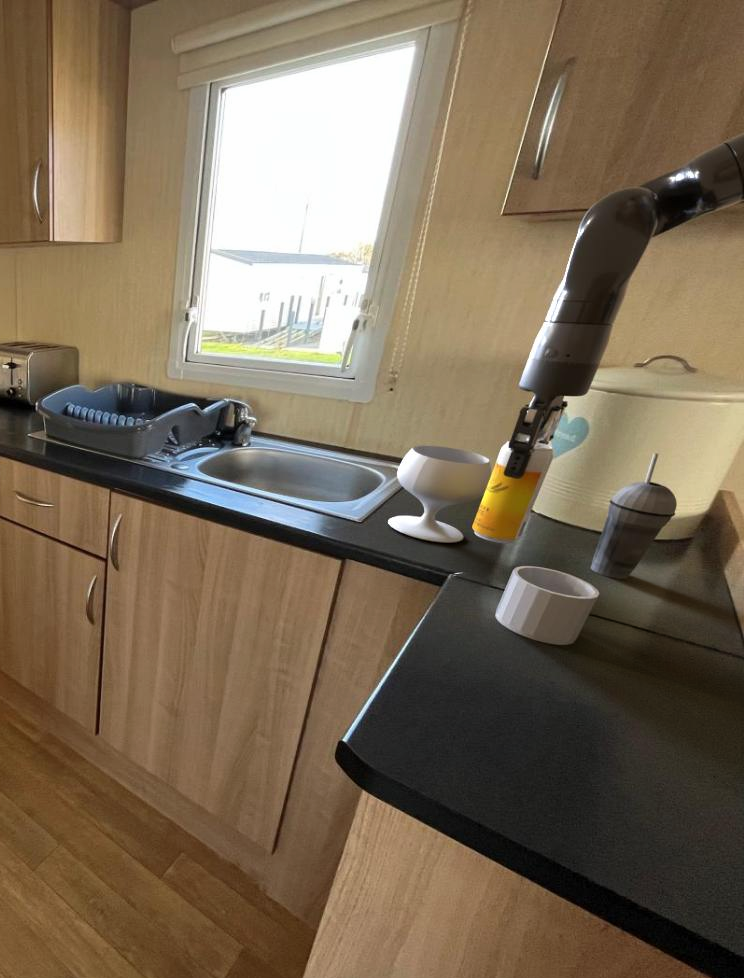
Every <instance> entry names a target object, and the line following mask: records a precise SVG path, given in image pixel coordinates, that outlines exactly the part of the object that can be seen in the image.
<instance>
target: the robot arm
mask: <svg viewBox="0 0 744 978" xmlns="http://www.w3.org/2000/svg"><path fill="white" fill-rule="evenodd" d="M740 202H744V132H742V133H740V134H737V135H736V136H734V137H731V138H730V139H727V140H725V141H723V142H722V143H721V142H720V143H719V144H717V145H715V146H713V147H711V148H709V149H707V150H705V151H703V152H702V153H700V154H698V155H697V156H695V157H693V158H691V159H690V160H689V161H687V162H686V163H684V164H683V165H681V166H679V167H677V168H675V169H673V170H670V171H668V172H665V173H663V174H661V175H659V176H657V177H655V178H653V179H650V180H648V181H646V182H644V183H641V184H638V185H637V186H631V187H625V188H624V187H623V188H621V189H617V190H614V191H611V192H610V193H608V194H606V195H604V196H603V197H601V198H600V199H598V200H597V201H595V203H593V205H592V206H590V208H589V209H588V210H587V211H586V213H585V214H584V215H583V218H582V219H581V221H580V223H579V226H578V228H577V235H576V238H575V241H574V244H573V248H572V250H571V253H570V255H569V260H568V262H567V265H566V269H565V272H564V276H563V278H562V280H561V281H560V283H559V285H558V287H557V289H556V291H555V293H554V295H553V297H552V299H551V302H550V305H549V307H548V310H547V314H546V316H545V318H544V321H543V324H542V326H541V328H540V330H539V332H538V333H537V335H536V338H535V339H534V342H533V345H532V348H531V350H530V353H529V355H528V359H527V361H526V363H525V367H524V369H523V372H522V375H521V377H520V380H519V383H518V388H519V390H521V391H524V392H528V393H530V392H531V393H533V397H532V399H531V401H530V403H529V404H527V403H526V404H525V405H524V406H522V408H520V410H519V414H518V417H517V420H516V423H515V426H514V429H513V432H512V435H511V438H510V439H509V440H510V442H509V444H508V445H509V446H508V448H511V451H512V452H511V454H510V457H509V460H508V462H507V465H506V468H505V470H504V475H505V476H507V477H512V478H516V479H519V478H521V477H523V475H524V473H525V470H526V468H527V465H528V463H529V460H530V458H531V455H532V453H533V452H534V451H535V448H536V446H537V444H538V443H542V444H546V445H549V444H550V442H551V441H552V440H553V439H555V438H554V437H555V434H556V431H557V430H558V426H559V424H560V422H561V419H562V417H563V416H564V414H565V411H566V408H567V407H568V406H569V405H568V403H569V402H568V401H567V400H564V398H565V397H583V396H585V395H587V394H588V392H589V390H590V388H591V386H592V384H593V381H594V379H595V376H596V375H597V372H598V370H599V367H600V365H601V362H602V359H603V357H604V355H605V353H606V350H607V348H608V345H609V342H610V340H611V333H612V330H613V327H614V324H615V322H616V319H617V317H618V315H619V312H620V310H621V308H622V305H623V302H624V300H625V297H626V294H627V291H628V288H629V284H630V281H631V278H632V277H633V275H634V273H635V271H636V270H637V267H638V265H639V263H640V262H641V260H642V258H643V256H644V254H645V252H646V250H647V248H648V246H649V244H650V242H651V241H652V240H651V239H653V238H655V237H658V236H660V235H663V234H664V233H666V232H669V231H670V230H673V229H675V228H677V227H679V226H682V225H684V224H686V223H688V222H690V221H692V220H694V219H697V218H699V217H702V216H704V215H708V214H711V213H713V212H716V211H720V210H722V209H726V208H728V207H731V206H733V205H736V204H738V203H740ZM523 438H525V439H524V441H528V442H522V441H521V440H522V439H523Z"/></svg>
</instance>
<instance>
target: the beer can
mask: <svg viewBox="0 0 744 978" xmlns="http://www.w3.org/2000/svg"><path fill="white" fill-rule="evenodd" d="M510 440H511V439H509V440H507V441H506V442H505V444H503V446H502V447H501V448H500V451H499V453H498V456H497V458H496V461H495V464H494V467H493V470H492V471H491V477H490V480H489V483H488V485H487V488H486V491H485V494H484V495H483V496H482V499H481V502H480V504H479V507H478V510H477V512H476V516H475V518H474V521H473V524H472V526H471V527H472V530H473V531H474V532H473V533H474V534H475V536H477V537H479V538H480V539H483V540H486V541H488V542H493V543H497V544H513V543H514V542H515V541H518V540H520V539H521V536H522V534H523V532H524V529H525V527H526V525H527V522H528V520H529V518H530V516H531V512H532V511H533V508H534V505H535V504H536V503H535V502H536V500H537V498H538V496H539V493H540V490H541V489H542V486H543V484H544V481H545V479H546V476H547V474H548V472H549V469H550V467H551V465H552V462H553V459H554V457H555V455H554V447H553V446H552V445H549V444H548V445H546V444H542V443H538V444H537V446H536V448H535V451H534V452H533V453H532V455H531V458H530V460H529V463H528V465H527V468H526V470H525V473H524V475H523V477H521V478H519V479H516V478H512V477H507V476H505V475H504V470H505V468H506V465H507V462H508V460H509V457H510V454H511V452H512V451H511V448H508V446H509V445H508V444H509V442H510ZM521 441H522V442H528V441H525V439H524V440H522V439H521Z"/></svg>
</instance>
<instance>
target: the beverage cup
mask: <svg viewBox="0 0 744 978" xmlns="http://www.w3.org/2000/svg"><path fill="white" fill-rule="evenodd" d="M658 457H659V453H658V452H657V453H656V452H653V454H652V458H651V461H650V464H649V467H648V472H647V474H646V476H645V477H646V478H645V481H638V482H633V483H630V484H627V485H626V486H624V487H621V488H620V489H619V490H618V491H617V492H616V493H615V494H614V495H613V497H612V498H611V499H610V500H609V505H608V510H607V517H606V519H605V523H604V526H603V529H602V531H601V535H600V537H599V540H598V543H597V547H596V549H595V552H594V555H593V558H592V562H591V565H590V570H592V571H593V572H595V573H596V574H599V575H601V576H604V577H608V578H612V579H616V580H626V579H628V578H629V577H630V575H631V574H632V572H633V571H634V570H635V569H636V567H637V566H638V565H639V563H640V561H641V560H642V558H643V557H644V556H645V554H646V553H647V552H648V550H649V548H650V547H651V545H652V544H653V543H654V541H655V539H656V538H657V537H658V535H659V534H660V532H661V530H662V529H663V528H664V527H666V525H667V524H668V523H669V522H670V521H671V520H672V517H674V516H676V510H677V507H678V506H677V504H678V503H677V497H676V496H675V494H674V493H673V491H672V490H671V489H670V488H668V487H667V486H666V485H664V484H661V483H659V482H653V481H651V480H652V478H653V474H654V470H655V468H656V464H657V461H658Z"/></svg>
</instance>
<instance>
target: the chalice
mask: <svg viewBox="0 0 744 978" xmlns="http://www.w3.org/2000/svg"><path fill="white" fill-rule="evenodd" d="M491 475H492V465H491V461H490V459H489V458H488V457H486V456H485V455H481V454H479V453H476V452H472V451H468V450H464V449H458V448H453V447H446V446H437V445H420V446H419V445H417V446H414V447H412V448H411V449H410V450H409V451H408V452H407V453H406V454H405V456H404V457H403V458H402V460H401V463H400V464H399V467H398V468H397V472H396V476H397V480H398V483H399V484H400V486H401V487H402V488H403V489H405V490H406V491H407V492H408V493H410V494H411V495H412V496H414V497H415V498H416V499H417V500H419V501H420V503H421V504H422V506H423V508H424V509H423V510H424V512H423V514H422V516H415V515H396V516H394V517H391V518H389V519H388V520H387V523H388V525H389V526H390V527H391V528H393V529H394V530H396V531H397V532H400V533H402V534H405V535H407V536H410V537H413V538H417V539H420V540H425V541H430V542H437V543H457V542H460V541H462V540H463V539H464V534H463V533H462V532H461V531H460V530H459V529H457V528H456V527H454V526H452V525H449V524H448V523H444V522H441V521H438V520H436V515H437V513H438V512H439V511H441V510H442V509H444V508H446V507H449V506H453V505H459V504H464V503H469V502H473V501H476V500H478V499H480V498H481V497H483V496H484V494H485V491H486V488H487V485H488V483H489V480H490V477H491Z"/></svg>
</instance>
